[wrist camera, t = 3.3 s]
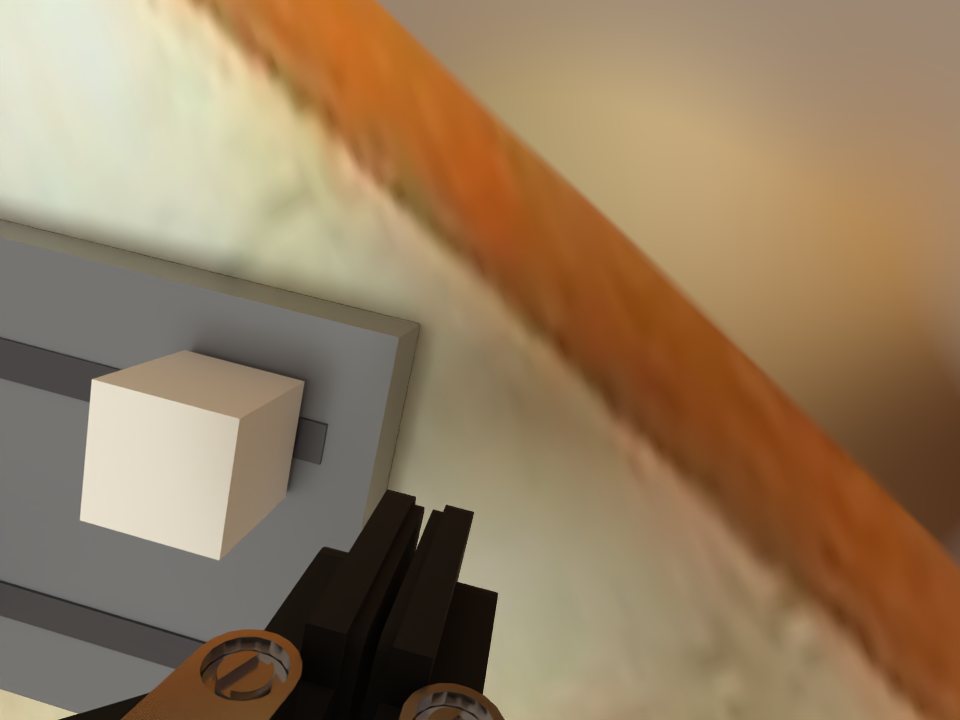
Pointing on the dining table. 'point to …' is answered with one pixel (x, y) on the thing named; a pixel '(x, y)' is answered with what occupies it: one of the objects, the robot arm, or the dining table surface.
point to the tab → (188, 450)
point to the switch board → (62, 446)
